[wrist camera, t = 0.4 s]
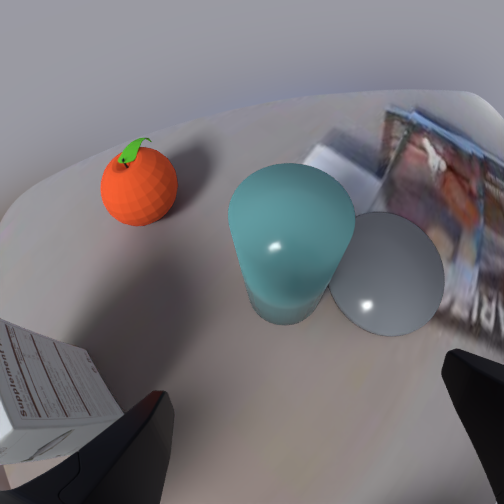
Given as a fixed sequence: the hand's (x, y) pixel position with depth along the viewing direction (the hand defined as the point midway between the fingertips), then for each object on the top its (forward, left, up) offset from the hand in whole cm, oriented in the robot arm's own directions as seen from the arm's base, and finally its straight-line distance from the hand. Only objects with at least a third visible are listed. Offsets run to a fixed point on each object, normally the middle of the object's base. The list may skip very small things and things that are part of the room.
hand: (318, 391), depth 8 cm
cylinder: (+6, -4, -13) cm, 15 cm away
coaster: (+2, -12, -13) cm, 18 cm away
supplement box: (+7, +16, -13) cm, 22 cm away
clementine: (+20, +1, -13) cm, 24 cm away
